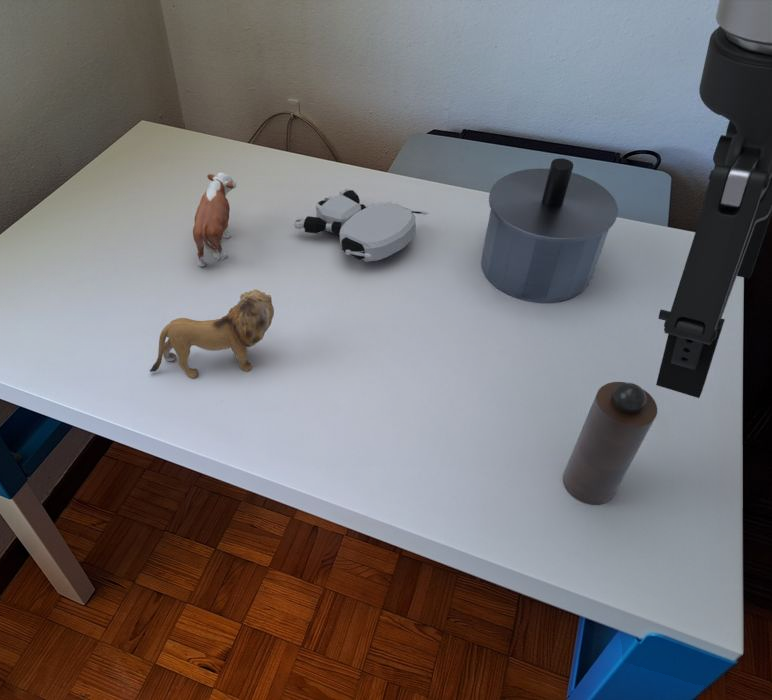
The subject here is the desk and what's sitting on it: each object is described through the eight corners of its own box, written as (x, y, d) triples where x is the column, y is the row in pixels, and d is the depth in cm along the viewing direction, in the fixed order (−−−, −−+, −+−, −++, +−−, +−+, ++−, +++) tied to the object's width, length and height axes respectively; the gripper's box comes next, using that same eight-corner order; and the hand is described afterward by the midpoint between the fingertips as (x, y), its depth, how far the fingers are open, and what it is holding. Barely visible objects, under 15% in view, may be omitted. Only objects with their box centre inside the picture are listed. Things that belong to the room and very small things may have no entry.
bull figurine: (245, 216, 98) (239, 165, 92) (221, 276, 89) (213, 224, 83) (215, 214, 99) (207, 163, 93) (189, 273, 89) (179, 222, 84)
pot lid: (633, 200, 82) (650, 154, 78) (585, 263, 74) (601, 216, 70) (520, 163, 89) (530, 119, 84) (465, 218, 81) (473, 172, 76)
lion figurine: (272, 333, 81) (267, 275, 75) (282, 365, 77) (277, 306, 71) (148, 359, 79) (131, 301, 72) (153, 393, 75) (135, 335, 69)
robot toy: (289, 242, 95) (373, 282, 86) (285, 214, 92) (372, 253, 83) (347, 204, 101) (431, 238, 92) (346, 176, 98) (432, 208, 89)
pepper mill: (622, 478, 66) (673, 383, 56) (603, 514, 63) (653, 420, 53) (574, 454, 68) (615, 358, 58) (554, 487, 65) (593, 393, 55)
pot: (607, 259, 88) (629, 196, 82) (563, 318, 81) (584, 254, 74) (510, 223, 95) (523, 162, 88) (462, 275, 87) (472, 213, 80)
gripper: (767, -55, 44) (699, 222, 58) (639, 131, 31) (592, 426, 46) (915, -57, 40) (802, 241, 54) (838, 155, 27) (717, 470, 42)
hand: (706, 326), depth 50 cm, fingers open, 13 cm apart
